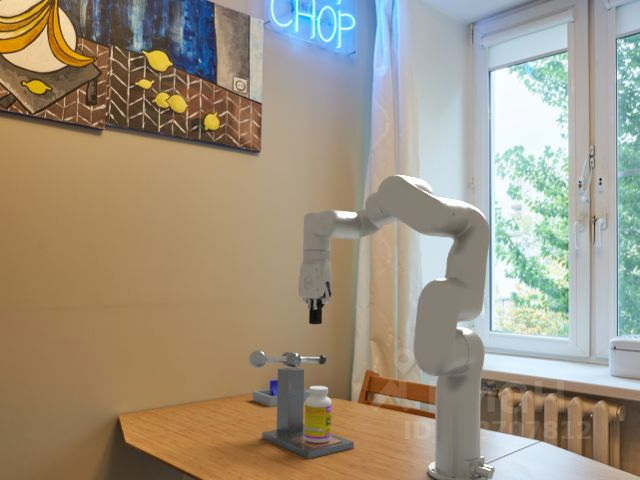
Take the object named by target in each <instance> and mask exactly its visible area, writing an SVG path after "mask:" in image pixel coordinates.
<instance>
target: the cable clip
mask: <svg viewBox="0 0 640 480" xmlns="http://www.w3.org/2000/svg"><path fill="white" fill-rule="evenodd" d="M269 389H272V396H277V389H278V379H273V380H269Z"/></svg>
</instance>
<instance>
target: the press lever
mask: <svg viewBox="0 0 640 480" xmlns="http://www.w3.org/2000/svg"><path fill="white" fill-rule="evenodd" d="M327 360H328V359H327V356H325V355H323V354H321V355H319V356H301V355H300V354H298V353H295V352H291V351H285V352H284V353H282V355H266V353H265V352H264V351H262V350H259V349H257V350H253V351H252V352H251V353H250V355H249V357H248V361H249V365H251V367H253V368H257V369H261V368H262V367H264V366H265V365H266V363H281V364H283V365H284V366H287V367H296V368H299V366H300V364H303V363H305V364H308V363H309V364H310V363H311V364H312V363H313V364H319V365H325V364H326V363H327Z"/></svg>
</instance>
